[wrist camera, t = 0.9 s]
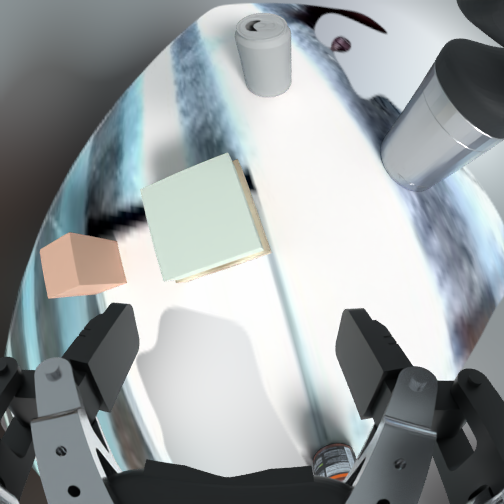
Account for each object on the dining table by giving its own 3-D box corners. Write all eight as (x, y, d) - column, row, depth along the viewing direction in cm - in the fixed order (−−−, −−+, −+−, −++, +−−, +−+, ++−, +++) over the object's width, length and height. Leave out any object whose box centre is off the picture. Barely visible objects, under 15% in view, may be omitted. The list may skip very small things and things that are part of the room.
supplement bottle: (349, 468, 29) (363, 518, 18) (310, 471, 30) (313, 523, 18) (357, 439, 29) (376, 489, 18) (315, 442, 30) (322, 495, 19)
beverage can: (251, 67, 35) (239, 10, 23) (294, 71, 34) (293, 12, 22) (242, 98, 35) (226, 40, 23) (288, 103, 34) (286, 43, 22)
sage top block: (234, 166, 30) (228, 152, 26) (264, 250, 29) (260, 247, 25) (156, 198, 31) (140, 189, 27) (178, 280, 30) (163, 281, 26)
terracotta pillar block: (116, 241, 35) (69, 232, 25) (126, 282, 35) (79, 285, 25) (87, 255, 36) (39, 250, 26) (96, 294, 35) (48, 298, 25)
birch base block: (242, 171, 34) (237, 159, 30) (271, 253, 33) (269, 250, 29) (165, 202, 35) (152, 194, 31) (188, 281, 34) (176, 283, 30)
